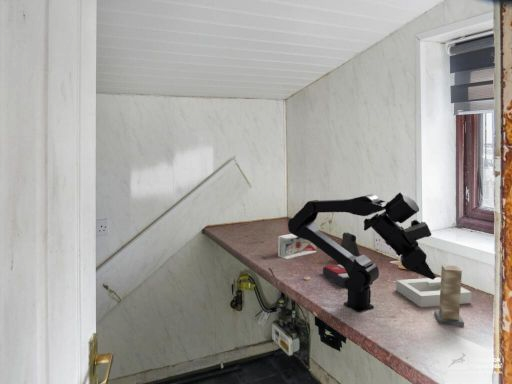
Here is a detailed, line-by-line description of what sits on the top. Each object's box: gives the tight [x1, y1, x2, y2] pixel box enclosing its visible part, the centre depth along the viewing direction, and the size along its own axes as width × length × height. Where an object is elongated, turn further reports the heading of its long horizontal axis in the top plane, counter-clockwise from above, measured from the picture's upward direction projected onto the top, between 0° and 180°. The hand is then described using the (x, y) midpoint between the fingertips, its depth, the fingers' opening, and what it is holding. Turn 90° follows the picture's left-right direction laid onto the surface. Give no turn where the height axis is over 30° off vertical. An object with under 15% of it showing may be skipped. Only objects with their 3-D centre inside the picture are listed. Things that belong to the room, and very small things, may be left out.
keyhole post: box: [433, 264, 465, 327], centre depth 98 cm, size 6×6×15 cm
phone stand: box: [340, 232, 361, 257], centre depth 152 cm, size 9×6×12 cm, turn 106°
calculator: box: [322, 264, 350, 289], centre depth 131 cm, size 11×4×15 cm
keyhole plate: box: [395, 276, 472, 308], centre depth 115 cm, size 17×14×4 cm
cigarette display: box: [277, 233, 318, 260], centre depth 163 cm, size 20×6×9 cm, turn 125°
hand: (430, 272), depth 98 cm, fingers open, 9 cm apart
